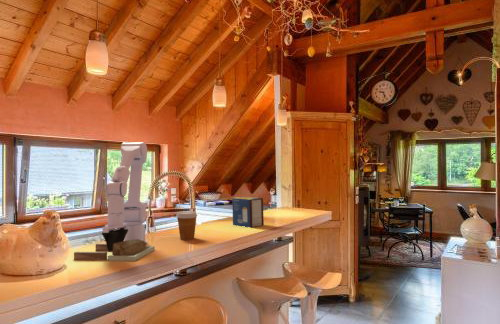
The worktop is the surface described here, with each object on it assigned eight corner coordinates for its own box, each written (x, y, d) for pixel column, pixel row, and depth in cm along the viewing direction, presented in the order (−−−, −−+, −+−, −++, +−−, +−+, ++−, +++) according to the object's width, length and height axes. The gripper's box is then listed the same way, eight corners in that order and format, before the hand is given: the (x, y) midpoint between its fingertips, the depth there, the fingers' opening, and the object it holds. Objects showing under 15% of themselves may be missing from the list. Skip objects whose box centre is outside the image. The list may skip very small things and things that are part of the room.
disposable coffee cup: (172, 240, 162) (172, 213, 162) (182, 236, 171) (182, 211, 171) (192, 241, 159) (191, 214, 160) (201, 237, 168) (200, 211, 169)
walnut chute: (97, 249, 145) (97, 243, 145) (125, 250, 143) (125, 243, 143) (74, 259, 130) (73, 252, 130) (105, 259, 128) (105, 252, 128)
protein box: (246, 222, 211) (245, 196, 212) (264, 225, 200) (263, 197, 200) (232, 224, 205) (231, 197, 205) (249, 227, 193) (249, 199, 193)
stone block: (145, 253, 137) (146, 240, 136) (119, 260, 127) (121, 246, 127) (135, 250, 140) (136, 237, 140) (109, 256, 130) (111, 242, 130)
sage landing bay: (130, 249, 144) (130, 245, 144) (154, 249, 143) (154, 246, 143) (107, 260, 127) (107, 256, 127) (135, 260, 126) (135, 256, 126)
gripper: (116, 211, 143) (115, 246, 142) (94, 214, 129) (94, 253, 128) (132, 211, 142) (132, 246, 141) (113, 214, 128) (112, 253, 127)
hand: (115, 249), depth 135 cm, fingers open, 5 cm apart
